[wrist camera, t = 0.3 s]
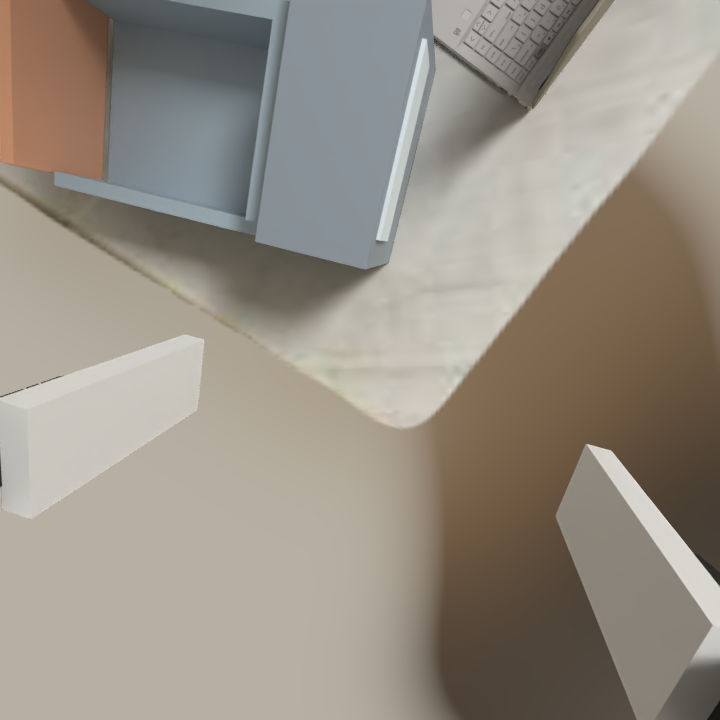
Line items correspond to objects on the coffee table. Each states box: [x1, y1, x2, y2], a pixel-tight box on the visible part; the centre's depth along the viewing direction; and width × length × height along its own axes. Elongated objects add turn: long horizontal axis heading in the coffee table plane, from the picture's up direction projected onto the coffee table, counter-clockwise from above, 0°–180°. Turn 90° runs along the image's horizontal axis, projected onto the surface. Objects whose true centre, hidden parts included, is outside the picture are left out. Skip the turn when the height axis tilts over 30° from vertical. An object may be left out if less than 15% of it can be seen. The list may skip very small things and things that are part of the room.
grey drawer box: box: [54, 0, 436, 270], centre depth 33 cm, size 16×29×12 cm, turn 77°
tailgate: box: [0, 0, 109, 180], centre depth 35 cm, size 14×1×9 cm, turn 167°
